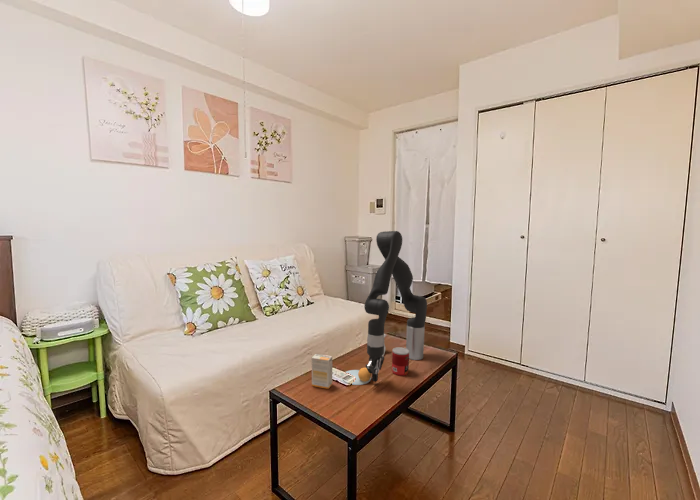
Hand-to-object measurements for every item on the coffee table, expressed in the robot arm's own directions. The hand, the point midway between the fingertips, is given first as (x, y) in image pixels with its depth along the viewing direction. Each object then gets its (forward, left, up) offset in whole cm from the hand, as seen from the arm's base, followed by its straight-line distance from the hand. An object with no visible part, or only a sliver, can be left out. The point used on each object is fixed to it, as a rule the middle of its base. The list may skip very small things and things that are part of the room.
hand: (374, 380), depth 145 cm
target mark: (0, -10, -2) cm, 10 cm away
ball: (0, -5, +2) cm, 5 cm away
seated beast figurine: (-31, -16, -2) cm, 35 cm away
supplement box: (+15, -18, -2) cm, 23 cm away
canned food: (-17, +4, -2) cm, 18 cm away
